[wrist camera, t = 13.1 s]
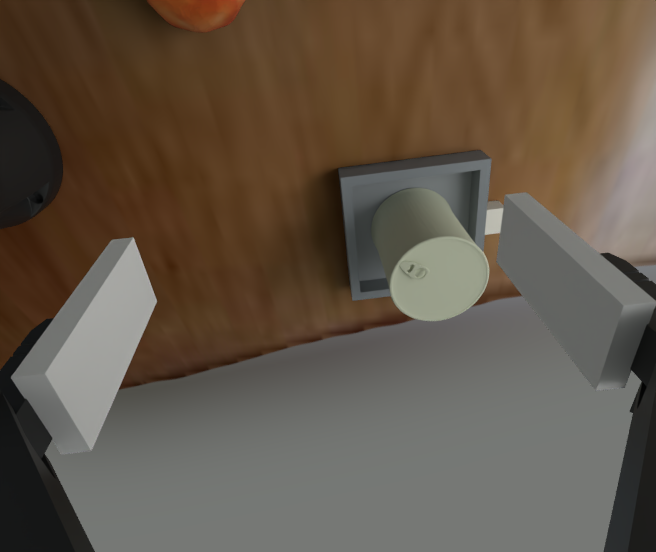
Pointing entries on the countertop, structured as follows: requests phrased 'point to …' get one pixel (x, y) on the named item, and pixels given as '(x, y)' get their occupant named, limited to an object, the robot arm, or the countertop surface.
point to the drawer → (391, 177)
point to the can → (427, 256)
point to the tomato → (197, 13)
